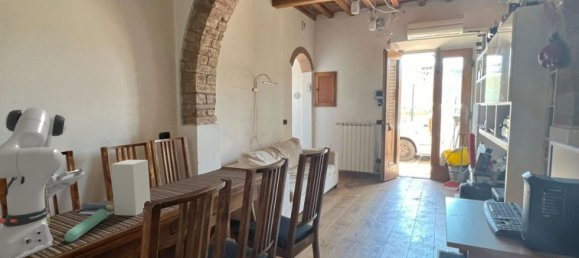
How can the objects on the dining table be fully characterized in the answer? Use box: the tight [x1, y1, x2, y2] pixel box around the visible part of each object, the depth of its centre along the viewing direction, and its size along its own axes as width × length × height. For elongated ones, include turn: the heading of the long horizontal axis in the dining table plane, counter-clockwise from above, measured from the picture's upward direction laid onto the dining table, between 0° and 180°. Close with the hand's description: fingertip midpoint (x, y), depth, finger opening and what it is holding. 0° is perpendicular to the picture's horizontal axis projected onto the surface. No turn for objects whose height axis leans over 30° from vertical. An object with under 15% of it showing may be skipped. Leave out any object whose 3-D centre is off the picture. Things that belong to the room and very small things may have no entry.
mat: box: [77, 210, 115, 217], centre depth 159 cm, size 14×18×1 cm
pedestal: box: [110, 159, 151, 217], centre depth 155 cm, size 12×12×26 cm
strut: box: [81, 201, 114, 211], centre depth 159 cm, size 4×20×3 cm, turn 81°
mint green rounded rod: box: [64, 209, 109, 242], centre depth 133 cm, size 6×6×25 cm
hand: (75, 170), depth 160 cm, fingers open, 8 cm apart
